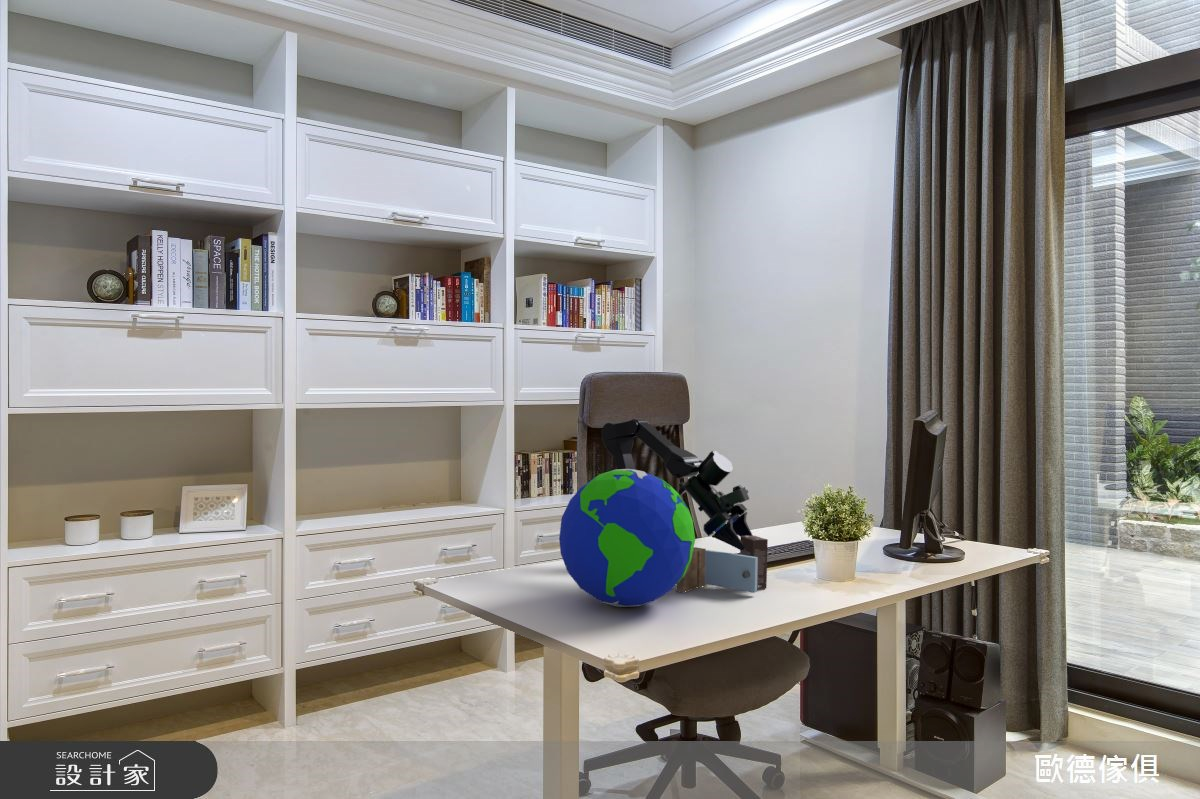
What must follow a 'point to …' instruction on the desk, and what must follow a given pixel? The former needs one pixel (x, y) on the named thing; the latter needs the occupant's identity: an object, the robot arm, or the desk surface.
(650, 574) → the globe
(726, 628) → the desk surface
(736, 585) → the door
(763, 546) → the box
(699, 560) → the doorframe
